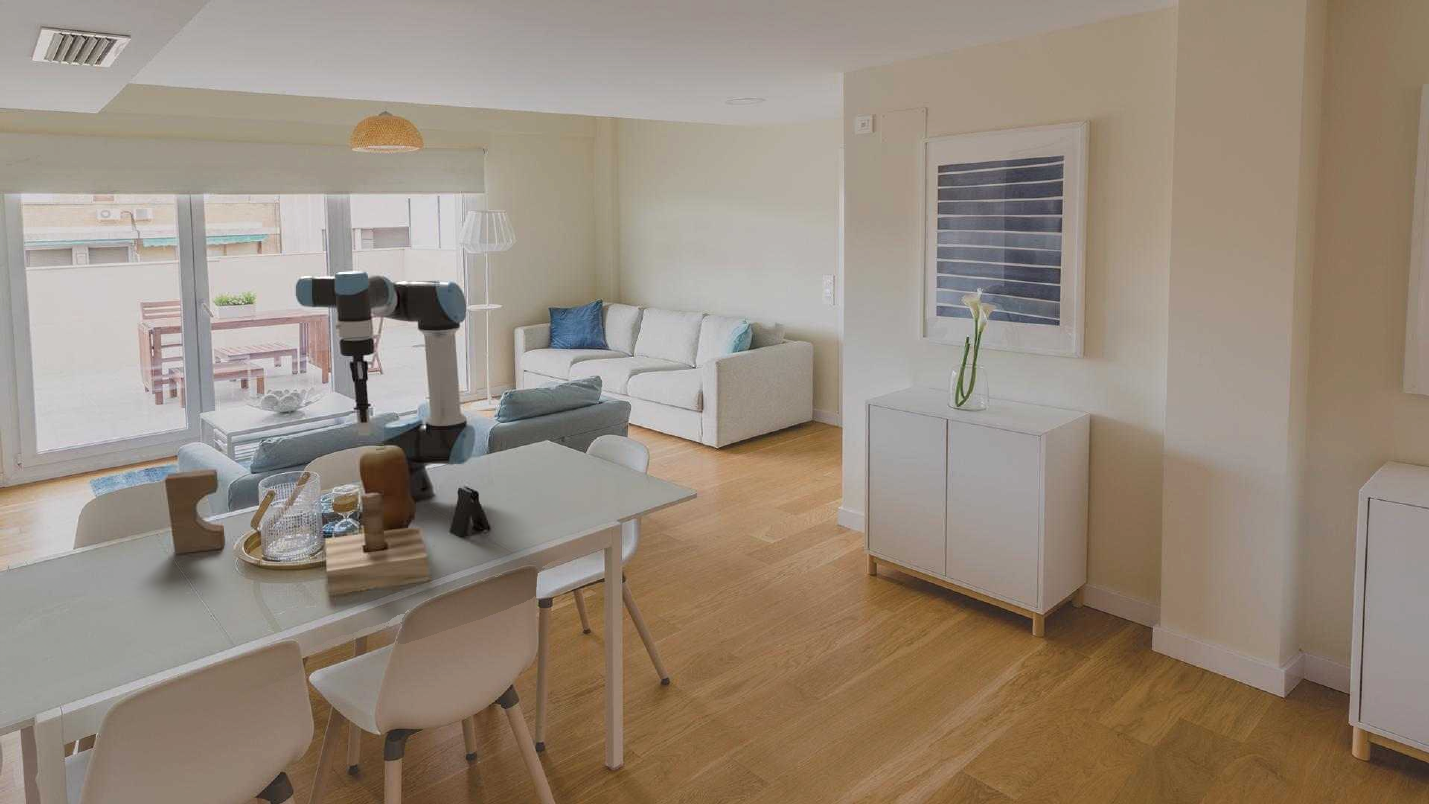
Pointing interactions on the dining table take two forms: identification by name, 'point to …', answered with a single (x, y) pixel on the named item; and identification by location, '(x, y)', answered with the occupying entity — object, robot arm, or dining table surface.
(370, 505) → the leg
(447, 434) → the robot arm
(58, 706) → the dining table surface
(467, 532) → the black a-frame stand
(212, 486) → the decorative block
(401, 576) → the seat block
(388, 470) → the butternut squash
